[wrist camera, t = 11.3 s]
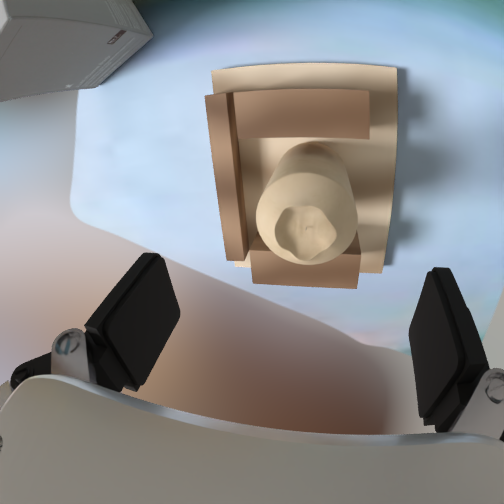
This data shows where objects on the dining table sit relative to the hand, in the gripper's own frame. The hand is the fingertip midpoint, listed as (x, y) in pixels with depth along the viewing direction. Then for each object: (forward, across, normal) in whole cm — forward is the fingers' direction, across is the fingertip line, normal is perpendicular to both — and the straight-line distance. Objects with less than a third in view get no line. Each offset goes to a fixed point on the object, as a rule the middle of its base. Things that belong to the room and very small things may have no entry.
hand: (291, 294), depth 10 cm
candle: (+15, 0, +1) cm, 15 cm away
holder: (+16, 0, +1) cm, 16 cm away
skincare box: (+17, +17, -14) cm, 28 cm away
